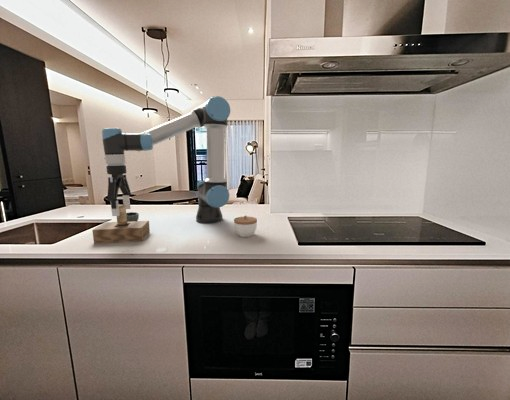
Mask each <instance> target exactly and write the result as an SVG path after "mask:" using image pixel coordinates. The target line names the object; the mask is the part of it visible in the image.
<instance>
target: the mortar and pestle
mask: <svg viewBox="0 0 510 400" xmlns="http://www.w3.org/2000/svg"><path fill="white" fill-rule="evenodd" d="M119 205H122V204H120V203H119ZM126 216H127V222H129V221H139V217H140V216H139V213H138V212H132V211H131V212H126Z"/></svg>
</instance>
